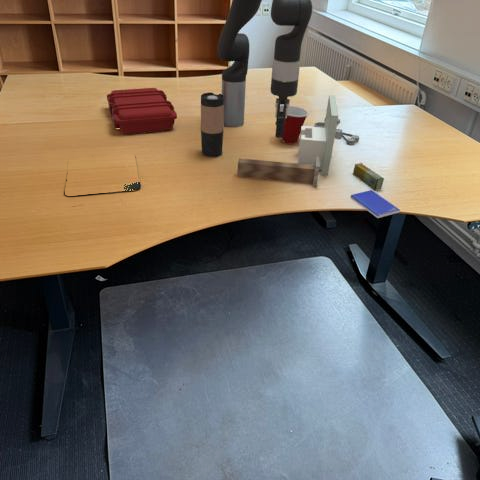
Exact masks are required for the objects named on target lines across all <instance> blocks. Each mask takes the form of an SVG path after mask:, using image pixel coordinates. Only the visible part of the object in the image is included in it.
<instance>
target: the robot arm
mask: <svg viewBox="0 0 480 480" xmlns="http://www.w3.org/2000/svg"><path fill="white" fill-rule="evenodd" d="M262 1H263V0H232V1H231V4H230V8H229V11H228V14H227V18H226V20H225V23H224V26H223V28H222V30H221V33H220V36H219V39H218V41H217V54H218V55H217V56H218V58H219V59H220V60H221V61H222V62H228V63H229V62H233V63H232V64H231V65H230V66H228V67H226V68H225V69H224V70H223V71H222V73H221V94H222V95H223V96H224V126H225V127H230V128H233V127H234V128H237V127H241V126H243V125H244V124H245V109H246V108H245V107H246V103H245V102H246V90H247V89H246V85H247V75H248V69H249V61H250V59H249V57H250V40H249V38H248V35H247V34H245V33H243V32H242V33H241V32H240V31H242V30H241V29H243V28H244V27H245V26H246V25H247V23H249V22H250V21H251V20H252V19H253V18H254V16H255V15H256V14H257V13H258V11H259V9H260V7H261V4H262ZM312 14H313V2H312V0H272V2H271V7H270V18H271V20H272V22H273V23H274V24H275V25H276V26H281V27H284V26H285V27H286V26H287V27H288V26H289V27H293V29H292V30H291V31H290V32H288V33H285V34H281V35H278V36H277V37H275V43H274V53H273V54H274V55H273V63H272V66H271V69H272V70H271V81H270V93H271V94H272V95H273V96H277V98H275V106H274V107H275V113H274V117H275V119H276V120H275V126H276V127H275V138H277V139H282V138H283V132H284V125H285V119H286V118H287V113H288V108H289V106H290V100H291V99H290V98H291V97H294V96H296V95H297V93H298V86H299V77H300V60H301V53H302V52H301V49H302V43H303V41H304V37H305V34H306V31H307V29H308V25H309V23H310V21H311V17H312ZM239 32H240V33H239Z"/></svg>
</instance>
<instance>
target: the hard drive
mask: <svg viewBox="0 0 480 480" xmlns="http://www.w3.org/2000/svg"><path fill="white" fill-rule="evenodd" d="M350 198H351V199H352V200H353V201H354V202H355V203H357V204H358V205H359V206H361V207H362V208H363V209H365V210H366V211H367V212H369V213H370V214H371V215H373V216H374V217H375V218H377V219H379V218H380V219H381V218H384V217H388V216H392V215H395V214H399V213H401V212H400V211H401V209H399V208H398V207H397V206H395V205H394V204H392V202H390V201H388V200H387V199H385V198H384V197H382V195H379V194H378V193H377V192H375V190H373V189H371V190H366V191H362V192H357V193H354V194H353V193H352V194H350Z"/></svg>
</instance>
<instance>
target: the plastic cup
mask: <svg viewBox="0 0 480 480" xmlns="http://www.w3.org/2000/svg"><path fill="white" fill-rule="evenodd" d="M309 115H310V112H309V111H308V110H307V109H305V108H303V107H300V106H297V105H296V106H294V105H289V108H288V113H287V118H286V119H285V125H284V132H283V138H281V139H282V142H283V141H284V142H283V143H285V144H288V143H289V145H290V144H291V145H292V144H297V143H298V141H299V140H300V134H301V126H304V123H305V121H306V119H307V117H308V116H309Z"/></svg>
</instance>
